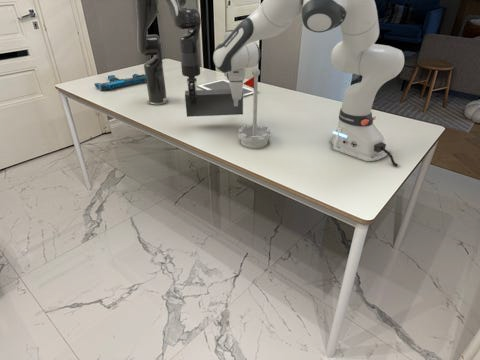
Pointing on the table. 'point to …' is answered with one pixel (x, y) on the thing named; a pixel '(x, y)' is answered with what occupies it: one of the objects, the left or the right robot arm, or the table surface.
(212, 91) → the box
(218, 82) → the tablet
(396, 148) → the table surface
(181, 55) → the left robot arm
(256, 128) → the flag stand
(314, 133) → the table surface
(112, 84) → the submachine gun
